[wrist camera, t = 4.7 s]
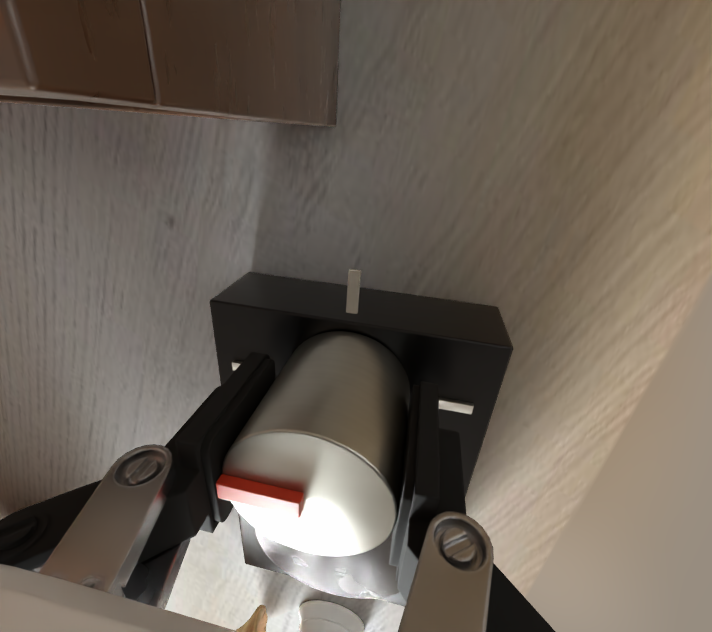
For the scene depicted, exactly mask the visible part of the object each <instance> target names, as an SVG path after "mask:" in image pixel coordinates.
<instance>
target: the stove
mask: <svg viewBox="0 0 712 632" xmlns="http://www.w3.org/2000/svg"><path fill="white" fill-rule="evenodd" d="M360 280H361V270H356V269H349V270H348V286H345V285H338V284H331V283H324V282H317V281H310V280H303V279H296V278H288V277H281V276H274V275H267V274H260V273H253V272H249V273H247V274H246V275H245V276H243V277H242V278H240V279H239V280H238V281H236V282H235V283H233V284H232V285H231V286H229V287H228V288H226V289H225V290H224V291H222V292H221V293H219V294H218V295H217V296H215V297H214V298H212V299H211V300H210V307H211V315H212V322H213V330H214V337H215V344H216V352H217V359H218V366H219V374H220V381H221V386H222V385H223V384H224V383H225V382H226V381H227V379H228V378H229V377H230V376H231V375H232V374H233V372H234V371H235V370H236V369H237V368H238V367H239V365H240V364H241V363H242V362H243V361H244V360H245V359H246V357H247V356H248V355H249V354H250V353H251V352H257V353H263V354H268V355H270V359H272V360H274V361H275V375H276V378H277V376H278V375H279V373H280V372H281V370H282V369H283V367H284V366H285V364H286V363H287V361H288V360H289V358H290V357H291V355H292V354H293V352H294V351H295V350H296V349H297V347H298V346H299V345H301V344H302V343H303V342H304V341H306V340H307V339H309V338H311V337H313V336H316V335H318V334H322V333H325V332H332V331H345V332H353V333H357V334H361V335H364V336H367V337H369V338H371V339H373V340H375V341H377V342H379V343H380V344H382V345H383V346H385V347H386V348H387V349H388V350H390V351H391V352H392V353H393V354H394V355H395V356H396V357H397V359H398V360H399V361H400V363H401V364H402V366H403V368H404V370H405V372H406V374H407V377H408V380H409V385H410V397H409V406H410V400H411V395H412V389H413V385H419V386H420V382H421V381H423V382H428V383H434V384H438V386H439V428H442V429H447V430H452V431H457V432H459V435H460V445H461V457H462V469H463V481H464V494H465V496H466V493H467V490H468V487H469V484H470V481H471V478H472V474H473V471H474V468H475V465H476V462H477V459H478V456H479V453H480V450H481V447H482V444H483V440H484V437H485V434H486V431H487V428H488V425H489V422H490V419H491V416H492V413H493V410H494V406H495V403H496V400H497V397H498V394H499V391H500V388H501V385H502V382H503V379H504V375H505V372H506V369H507V366H508V363H509V360H510V357H511V354H512V351H513V346H512V343H511V341H510V338H509V335H508V333H507V330H506V327H505V325H504V322H503V319H502V317H501V314H500V311H499V309H498V307H494V306H487V305H480V304H473V303H466V302H459V301H452V300H444V299H437V298H430V297H423V296H416V295H409V294H402V293H395V292H388V291H381V290H374V289H366V288H360ZM408 411H409V407H408ZM238 514H239V521H240V529H241V536H242V543H243V551H244V558H245V563H246V564H249V565H252V566H256V567H260V568H264V569H267V570H271V571H275V572H278V573H282V574H286V575H288V574H287V573H286V572H284V571H283V570H282V569H280V568H279V567H278V566H277V565H276V564H275V563H274V562H273V561H272V560H271V559H270V558H269V557H268V556H267V555H266V553H265V552H264V551H263V549H262V548H261V546H260V544H259V542H258V539H257V537H256V533H255V527H254V526H253V525H251V524H250V523H249V522H248V521H247V520H246V519H245V518H244V517H243V516H242V515H241V514H240V513H239V512H238ZM375 599H379V600H382V601H386V602H390V603H394V604H397V605H401V606H405V605H406V601H405V599H404V598H403V596H402V595H401V593H397V594H395V595H391V596H388V597H383V598H375Z"/></svg>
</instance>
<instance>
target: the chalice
mask: <svg viewBox="0 0 712 632" xmlns="http://www.w3.org/2000/svg"><path fill="white" fill-rule="evenodd" d="M298 612H299V617H300V626H299V631H300V632H363V631H364V624H363V622H362V620H361V619H360V618H359V616H357V615H356V614H355V613H353V612H352V611H351V610H349V609H347V608H345V607H343V606H341V605H338V604H335V603H332V602H327V601H321V600H314V601H308V602H305V603H303V604H302V605H301V606H300V607H299V611H298Z"/></svg>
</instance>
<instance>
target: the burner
mask: <svg viewBox="0 0 712 632" xmlns="http://www.w3.org/2000/svg"><path fill="white" fill-rule="evenodd" d="M255 533H256V537H257V539H258V542H259V544H260V546H261V548H262V549H263V551H264V552H265V553H266V555H267V556H268V557H269V558H270V559H271V560H272V561H273V562H274V563H275V564H276V565H277V566H278V567H279V568H280V569H282V570H283V571H284V572H286V573H287V574H288V575H290V576H292V577H293V578H295V579H296V580H298V581H300V582H302V583H304V584H306V585H308V586H310V587H313V588H315V589H318V590H320V591H323V592H327V593H330V594H333V595H338V596H342V597H348V598H357V599H375V598H383V597H388V596H391V595H395V594H397V593H400V592H399V590H398V589H397V587H398V581H396V570H397V567H396V566H392V565H389V561H390V551H391V542H392V533H393V531H392V533H391V534H390V536H389V537H388V538H387V539H386V540H385V541H384V542H383V543H381V544H380V545H379V546H377V547H375V548H373V549H372V550H369V551H366V552H364V553H360V554H356V555H348V556H325V555H318V554H313V553H308V552H304V551H301V550H297V549H294V548H292V547H289V546H287V545H284V544H282V543H280V542H278V541H276V540H274V539H272V538H270V537H268V536H267V535H265V534H264V533H262V532H261V531H259V530H258V529H256V528H255Z"/></svg>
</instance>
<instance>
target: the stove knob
mask: <svg viewBox="0 0 712 632" xmlns="http://www.w3.org/2000/svg"><path fill="white" fill-rule="evenodd" d="M409 397H410V385H409V380H408V377H407V374H406V372H405V370H404V368H403V366H402V364H401V363H400V361H399V360H398V359H397V357H396V356H395V355H394V354H393V353H392V352H391V351H390V350H388V349H387V348H386V347H385V346H383V345H382V344H380V343H379V342H377V341H375V340H373V339H371V338H369V337H367V336H364V335H361V334H357V333H353V332H345V331H332V332H325V333H322V334H318V335H316V336H313V337H311V338H309V339H307V340H306V341H304V342H303V343H302V344H301V345H299V346H298V347H297V349H296V350H295V351H294V352H293V354H292V355H291V357H290V358H289V360H288V361H287V363H286V364H285V366H284V367H283V369H282V370H281V372H280V373H279V375H278V376H277V378H276V379H275V381H274V383H273V384H272V386H271V387H270V389H269V390H268V392H267V393H266V395H265V396H264V398H263V399H262V401H261V402H260V404H259V405H258V407H257V408H256V410H255V411H254V413H253V414H252V416H251V417H250V419H249V420H248V422H247V423H246V425H245V426H244V428H243V429H242V431H241V432H240V434H239V435H238V437H237V438H236V440H235V441H234V443H233V444H232V446H231V447H230V449H229V450H228V452H227V454H226V455H225V458H224V461H223V466H222V474H221V476H220V477H219V479H218V480H217V482H216V489H217V495H218V498H220V499H224V500H228V501H231V503H232V504H233V505H234V507H235V508H236V510H237V511H238V512H239V513H240V514H241V515H242V516H243V517H244V518H245V519H246V520H247V521H248V522H249V523H250V524H251V525H253V526H254V527H255V528H256V529H258V530H259V531H261V532H262V533H264V534H265V535H267V536H268V537H270V538H272V539H274V540H276V541H278V542H280V543H282V544H284V545H287V546H289V547H292V548H294V549H297V550H301V551H304V552H308V553H313V554H318V555H325V556H348V555H356V554H360V553H364V552H366V551H369V550H372V549H373V548H375V547H377V546H379V545H380V544H381V543H383V542H384V541H385V540H386V539H387V538H388V537H389V536H390V534H391V533H392V531H393V529H394V527H395V525H396V522H397V517H398V507H399V497H400V487H401V477H402V467H403V457H404V447H405V437H406V427H407V417H408V407H409Z"/></svg>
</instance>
